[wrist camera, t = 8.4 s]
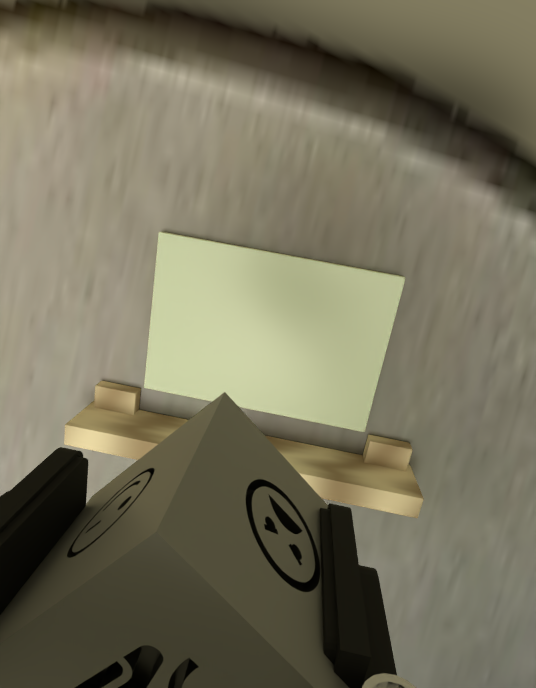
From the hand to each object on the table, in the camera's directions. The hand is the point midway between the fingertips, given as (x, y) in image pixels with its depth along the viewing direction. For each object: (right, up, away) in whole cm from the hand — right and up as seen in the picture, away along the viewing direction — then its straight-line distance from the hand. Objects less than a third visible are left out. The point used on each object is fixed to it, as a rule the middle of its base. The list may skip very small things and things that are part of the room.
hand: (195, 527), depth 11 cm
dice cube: (+1, 0, +1) cm, 1 cm away
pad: (+2, +6, +18) cm, 19 cm away
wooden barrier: (0, -3, +21) cm, 21 cm away
